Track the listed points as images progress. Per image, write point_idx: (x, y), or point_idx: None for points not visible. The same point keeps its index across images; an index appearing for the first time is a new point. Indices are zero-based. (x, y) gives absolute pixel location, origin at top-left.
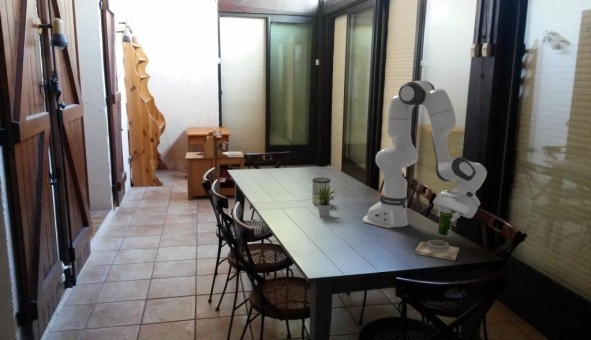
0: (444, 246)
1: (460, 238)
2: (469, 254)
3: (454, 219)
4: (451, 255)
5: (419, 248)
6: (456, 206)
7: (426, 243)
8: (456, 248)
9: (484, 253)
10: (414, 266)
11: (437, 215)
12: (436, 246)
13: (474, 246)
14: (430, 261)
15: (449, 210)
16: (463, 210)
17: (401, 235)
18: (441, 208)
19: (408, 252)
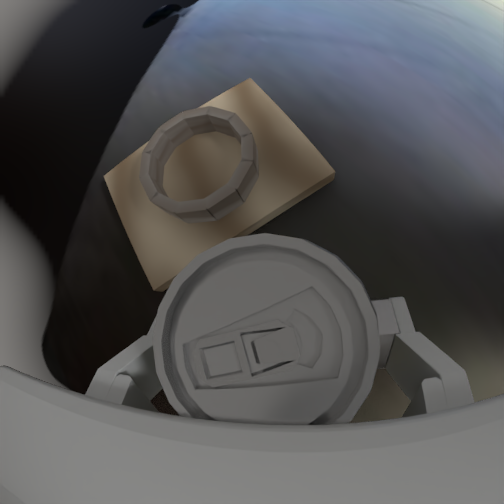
0: (145, 155)
1: None
2: (114, 297)
3: None
4: (119, 173)
5: (255, 100)
6: (113, 474)
7: (292, 170)
8: (153, 264)
9: (94, 366)
10: (174, 44)
11: (395, 299)
12: (168, 121)
13: None
14: (164, 97)
15: (177, 330)
16: (16, 401)
17: (475, 190)
18: (344, 279)
19: (276, 75)
